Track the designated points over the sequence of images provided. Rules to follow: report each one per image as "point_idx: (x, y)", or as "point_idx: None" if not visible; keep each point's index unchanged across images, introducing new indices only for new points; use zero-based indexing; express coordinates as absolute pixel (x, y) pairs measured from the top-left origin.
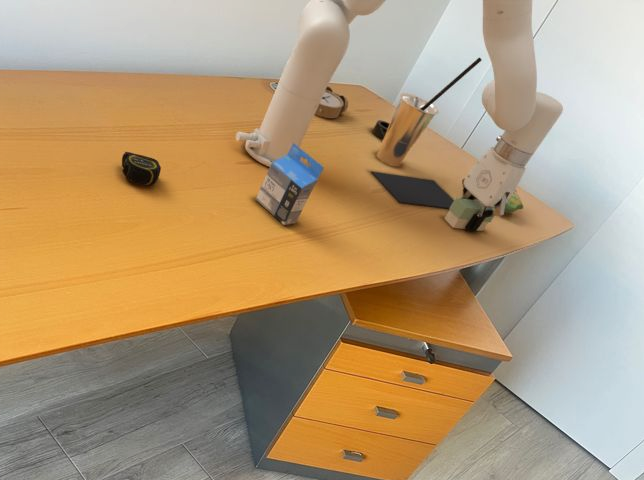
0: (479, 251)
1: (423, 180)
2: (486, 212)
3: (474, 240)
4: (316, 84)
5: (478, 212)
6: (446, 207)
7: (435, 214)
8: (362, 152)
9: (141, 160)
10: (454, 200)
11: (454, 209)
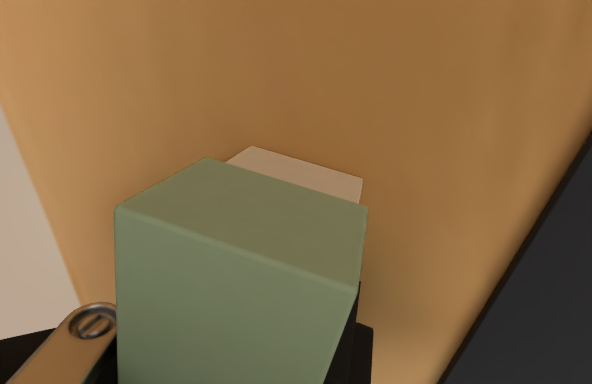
0: (27, 113)
1: None
2: (12, 363)
3: (129, 195)
4: None
5: (107, 333)
6: (470, 343)
7: (436, 144)
8: None
9: None
10: (354, 260)
11: (294, 198)
